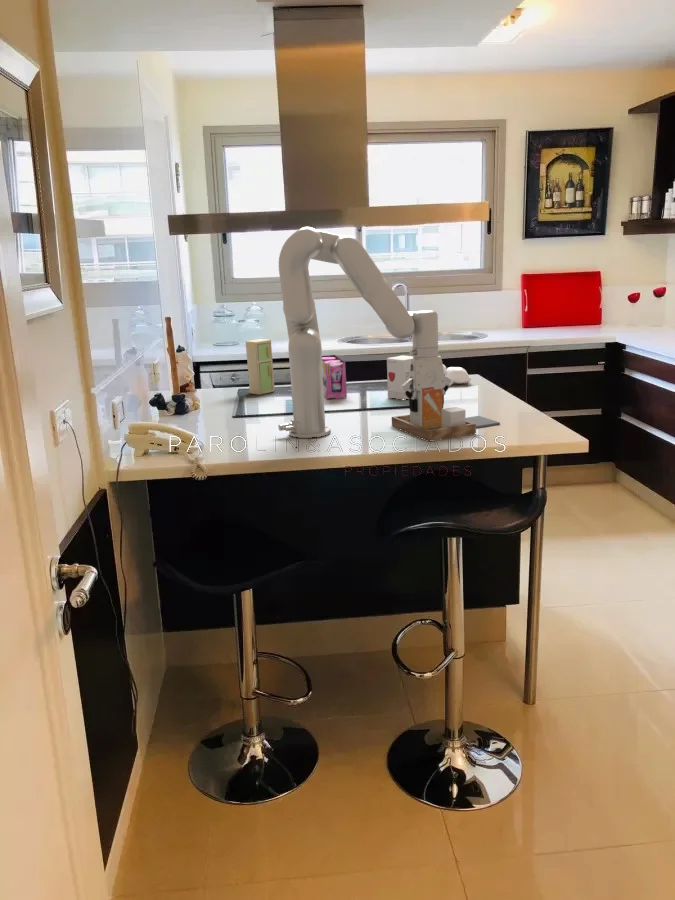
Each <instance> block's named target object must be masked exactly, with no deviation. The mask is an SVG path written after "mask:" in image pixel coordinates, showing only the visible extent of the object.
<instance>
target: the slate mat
mask: <svg viewBox="0 0 675 900" xmlns="http://www.w3.org/2000/svg"><path fill="white" fill-rule="evenodd" d="M465 420H466V421H469V422H472V423H475V424H476V429H480V428H485V427H492V426H497V425H498V426H499V425H500V424H501V422H500V421H497V420H494V419H490V418H487V417H484V416H481V415H476V416H475V415H474V416H469V417H465Z"/></svg>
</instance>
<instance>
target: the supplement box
mask: <svg viewBox="0 0 675 900" xmlns="http://www.w3.org/2000/svg"><path fill="white" fill-rule="evenodd" d="M411 358H413V355H398V356H392V357H391V356H390V357H387V358H386V371H387V372H386V373H387V374H386V375H387V376H386V378H387V379H386V380H387V381H386V382H387V398H388V397H389V398H388V399H392V398H396V399H395V400H398V399H404V400H406V399H409V398H408V397H407V396H406V395H405V394H404V392H403V391H402V389H401V385H403V384H404V383H405V382H406V381H407V380H409V371H410V363H411ZM407 389H408V391H409V392H410V387H409V386H408V388H407ZM404 400H403V401H404ZM406 401H407V400H406Z"/></svg>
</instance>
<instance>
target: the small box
mask: <svg viewBox="0 0 675 900" xmlns="http://www.w3.org/2000/svg"><path fill="white" fill-rule="evenodd" d="M412 387H413V388H414V386H412ZM410 390H411V389H410ZM413 393H414V391H413ZM415 399H417V412H412V411H410V410H409V414H410V423H412V424H415V425H418V426H420V427H423V428H425V429H428V430H432V429H438V428H442V409H444V407H443V406H444V405H443V389H439V390H434V387H427V388H421V392H418V394H417V396H416V398H415Z"/></svg>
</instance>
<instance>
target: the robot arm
mask: <svg viewBox="0 0 675 900" xmlns="http://www.w3.org/2000/svg"><path fill="white" fill-rule="evenodd" d="M311 260H314V261H319V262H324V263H328V264H329V263H330V264H335V265H339V267H340V268H341V270H342V271H343V273H344V274H345V275H346V277H347V278H348V279H349V281H350V282H351V283H352V285H353V286H354V288H355V289H356V291H357V292H358V293H359V295H360V296H361V297H362V299H363V300H364V301H365V302H366V303H367V304H368V305H370V307H371V308H372V310H373V311H374V312H375V313H376V315H377V316H378V317H379V319H380V320H381V321H382V323H383V324H384V325H385V329H386V331H387V332H388V334H390V335H391V336H392V337H393V338H395V339H398V340H405V339H409V338H410V337H411V336H412V347H411V350H410V351H409V356H413V358H411V363H410V371H409V380H407V381H406V382H405V383H404V384H403V385H401V389H402V391H403V392H404V394H405V395H406V396H407V397H408V398H409V400H408V401H409V412H410V411H412V412H417V399H415V398H416V396H417V394H418V392H421V388H427V387H434V390H439V389H443V408H444V404H445V395H446V393H447V391H448V390H449V388H450V386H451V385H450V383H451V379H449V378H447V377H446V376H445V375H444V369H443V365H444V364H443V360H442V357H441V355H439V321H438V319H439V317H438V313H437V311H435V310H432V309H431V310H430V309H427V310H426V309H425V310H422V309H421V310H417V311H409V310H407V308H406V307H405V305H404V303H402V301H401V299H400V298H399V297H398V295H397V294H396V292H395V291H394V289H393V288H392V287H391V286H390V284H389V282H388V281H387V279H386V277H385V276H384V275H383V273H382V271H381V270H380V269H379V268H378V266H377V265H376V262H374V260H373V259H372V257H371V255H370V254H369V253H368V252H367V250H366V248H365V247H364V246H363V244H362V243H361V242H360V240H359V239H358V238H357V237H356V236H353V235H352V234H351V235H350V234H346V235H345V234H343V235H342V234H336V233H331V232H328V231H322V230H318V229H316V228H314V227H311V226H304V227H301V228H298V230H296V231H295V232H293V233H292V234H291V235H290V236H289V237H288V238H287V239H286V241H285V242H284V243H283V245H282V247H281V249H280V253H279V258H278V272H279V273H278V274H279V282H280V289H281V290H280V291H281V297H282V312H283V313H284V317H285V323H286V329H287V335H288V336H287V337H288V346H287V347H288V350H287V351H288V359H289V361H288V362H289V373H290V385H291V386H290V387H291V398H292V399H291V401H292V402H291V404H292V415H293V418H292V419H290V421H289V422H287V423H280V424H278V430H279V431H280V432H282V431H285V432H289V434H288V435H289V436H291V437H292V436H293V438H296V437H298V438H297V439H313V438H312V437H317V438H322V437H324V436H325V435H326V436H328V435H330V434H331V429H332V428H330V427H329V426H326V419H325V417H326V415H325V396H324V393H323V375H322V356H323V354H322V353H323V349H322V348H323V347H322V341H321V338H320V337H321V335H320V330H319V324H318V318H317V317H318V316H317V315H318V314H317V309H316V303H315V302H316V301H315V299H314V298H313V292H312V288H311V282H310V280H311V279H310V278H311V277H310V272H309V264H310V261H311ZM449 385H450V386H449ZM408 386H409V387H410V389H411V390H410V392H409V391H408V389H407V388H408ZM412 386H414V388H413V387H412ZM413 391H414V393H413ZM321 436H322V437H321Z"/></svg>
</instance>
